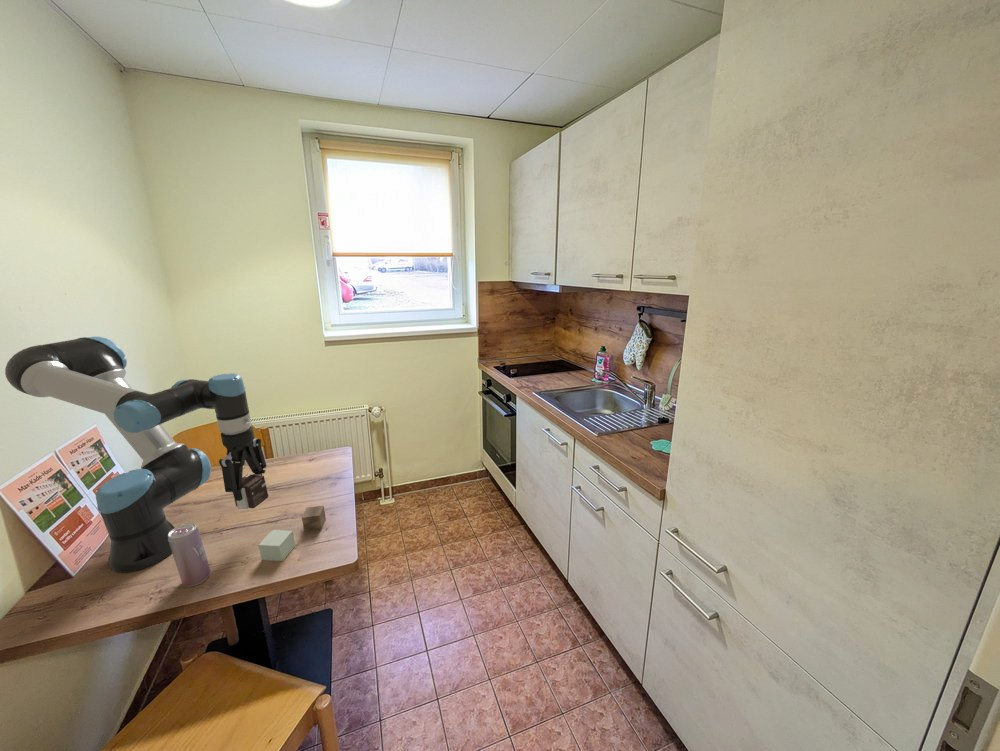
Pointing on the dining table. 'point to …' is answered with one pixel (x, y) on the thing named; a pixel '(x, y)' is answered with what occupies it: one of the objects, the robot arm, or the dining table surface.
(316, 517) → the walnut cube
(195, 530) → the beverage can
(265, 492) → the box
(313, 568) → the dining table surface
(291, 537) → the base block
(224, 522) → the dining table surface
